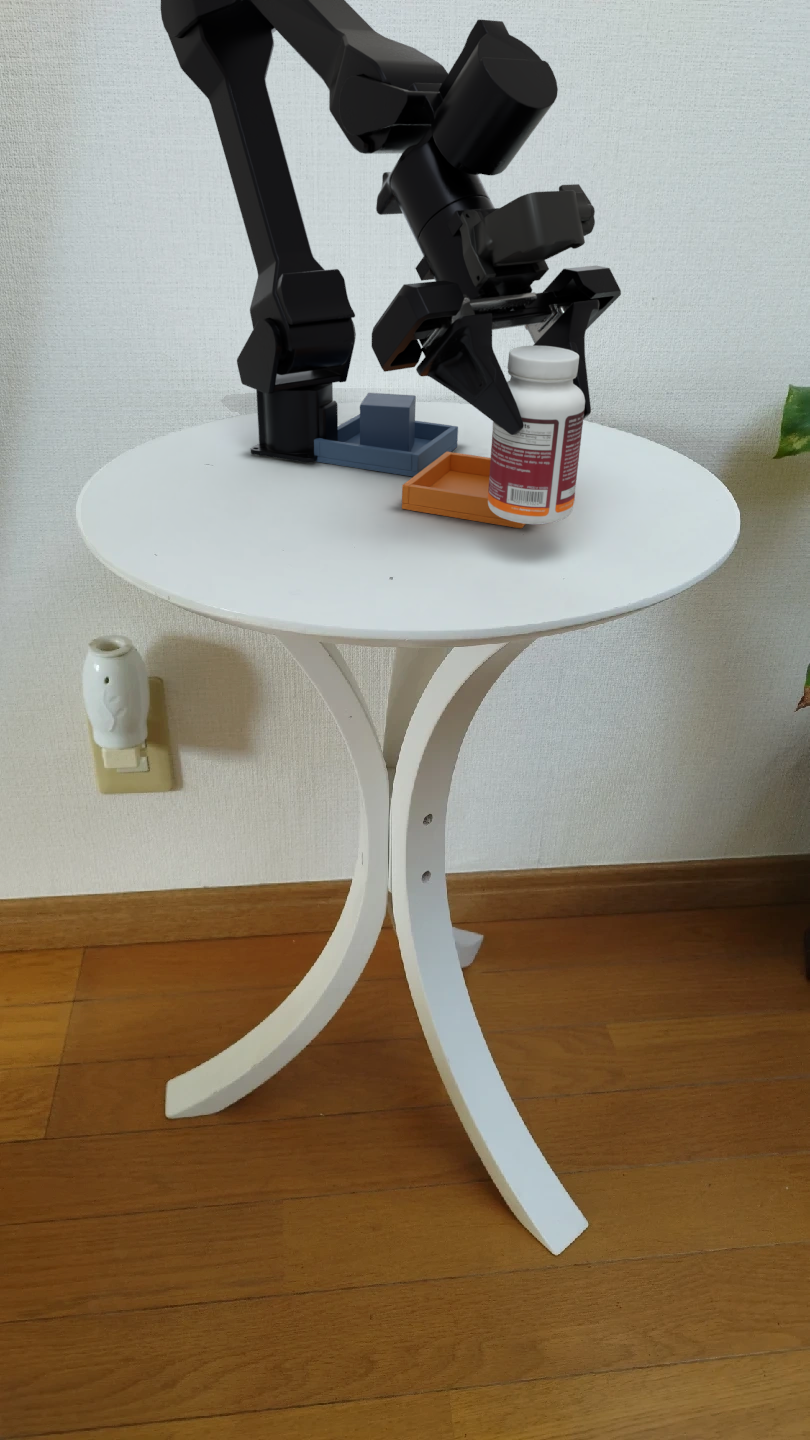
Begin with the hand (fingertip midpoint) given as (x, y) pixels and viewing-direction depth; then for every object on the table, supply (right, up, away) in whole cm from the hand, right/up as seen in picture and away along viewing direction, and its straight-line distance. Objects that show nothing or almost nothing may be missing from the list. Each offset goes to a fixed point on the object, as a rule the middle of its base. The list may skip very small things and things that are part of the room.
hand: (552, 424), depth 69 cm
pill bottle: (-1, -5, +5) cm, 7 cm away
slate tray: (-12, +5, +26) cm, 29 cm away
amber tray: (-4, -2, +16) cm, 17 cm away
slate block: (-12, +5, +26) cm, 29 cm away
